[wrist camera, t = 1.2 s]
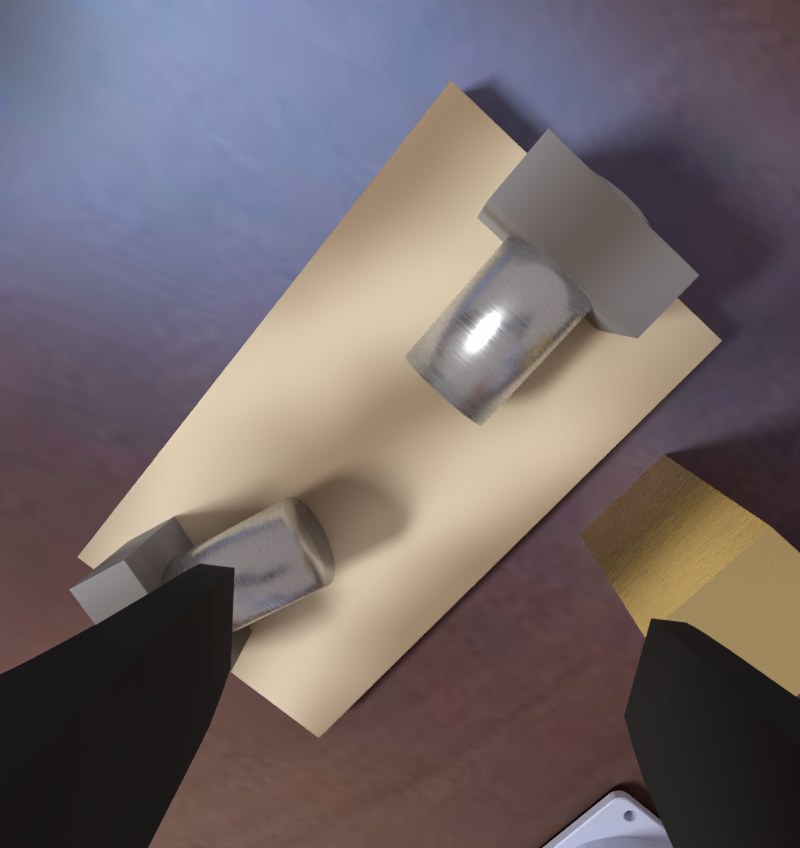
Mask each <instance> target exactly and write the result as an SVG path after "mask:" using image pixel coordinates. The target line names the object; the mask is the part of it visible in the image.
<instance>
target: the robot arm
mask: <svg viewBox="0 0 800 848" xmlns="http://www.w3.org/2000/svg"><path fill="white" fill-rule="evenodd" d="M234 575H235V568H233V567H225V566H216V565H208V564H198V565H196V566H194V567H192V568H190V569H189V570H187V571H185V572H183V573H182V574H180V575H178V576H177V577H175V578H173V579H172V580H170V581H168V582H167V583H165V584H163V585H162V586H160V587H158V588H157V589H155V590H154V591H152V592H150V593H149V594H147V595H145V596H144V597H142V598H140V599H139V600H137V601H135V602H133V603H132V604H130V605H128V606H127V607H125V608H123V609H122V610H120V611H118V612H117V613H115V614H113V615H112V616H110V617H108V618H106V619H105V620H103V621H101V622H100V623H98V624H96V625H94V626H92V627H90V628H89V629H87V630H85V631H83V632H81V633H79V634H77V635H76V636H74V637H72V638H70V639H68V640H66V641H64V642H63V643H61V644H59V645H57V646H55V647H53V648H51V649H50V650H48V651H46V652H44V653H42V654H40V655H38V656H37V657H35V658H33V659H31V660H29V661H27V662H25V663H23V664H21V665H19V666H17V667H15V668H13V669H11V670H9V671H7V672H4V673H2V674H0V848H148V847H149V845H150V843H151V841H152V839H153V837H154V835H155V833H156V831H157V829H158V827H159V825H160V823H161V821H162V819H163V817H164V815H165V813H166V811H167V809H168V807H169V805H170V803H171V801H172V800H173V798H174V796H175V794H176V792H177V790H178V788H179V786H180V784H181V782H182V780H183V778H184V776H185V774H186V772H187V770H188V768H189V766H190V764H191V762H192V760H193V758H194V756H195V754H196V752H197V750H198V748H199V746H200V744H201V742H202V740H203V738H204V736H205V734H206V732H207V730H208V728H209V726H210V723H211V721H212V718H213V715H214V713H215V710H216V708H217V705H218V702H219V700H220V697H221V694H222V691H223V689H224V686H225V683H226V680H227V677H228V675H229V672H230V669H231V650H232V625H233V600H234ZM624 717H625V720H626V724H627V727H628V731H629V734H630V738H631V741H632V745H633V748H634V752H635V755H636V758H637V761H638V764H639V767H640V770H641V774H642V777H643V779H644V782H645V784H646V787H647V789H648V791H649V794H650V796H651V798H652V801H653V803H654V805H655V808H656V810H657V812H658V815H659V817H660V819H661V820H660V819H659V818H657V817H656V816H655V815H654V814H653V813H651V812H650V811H649V810H648V809H646V808H645V807H644V806H643V805H641V804H640V803H639V802H638V801H636V800H635V799H634V798H633V797H631V796H630V795H629V794H628V793H626V792H624V791H613V792H611V793H609V794H608V795H607V796H606V797H605V798H603V799H602V800H601V801H600V802H598V803H597V804H596V805H595V806H593V807H592V808H591V809H590V810H588V811H587V812H586V813H585V814H584V815H582V816H581V817H580V818H579V819H577V820H576V821H575V822H574V823H572V824H571V825H570V826H569V827H567V828H566V829H565V830H564V831H563V832H561V833H560V834H559V835H558V836H556V837H555V838H554V839H553V840H551V841H550V842H549V843H548V844H547V845H545V846H544V847H543V848H800V699H799V698H797V697H796V696H795V695H793V694H792V693H790V692H789V691H787V690H786V689H785V688H783V687H782V686H780V685H779V684H777V683H776V682H775V681H773V680H772V679H770V678H769V677H768V676H766V675H765V674H763V673H762V672H760V671H759V670H758V669H756V668H755V667H753V666H752V665H751V664H749V663H748V662H746V661H745V660H743V659H742V658H741V657H739V656H738V655H736V654H735V653H733V652H732V651H731V650H729V649H728V648H726V647H725V646H723V645H722V644H720V643H719V642H717V641H716V640H714V639H713V638H711V637H710V636H708V635H707V634H705V633H704V632H702V631H700V630H699V629H697V628H695V627H694V626H692V625H690V624H688V623H687V622H679V621H670V620H662V619H654V618H651V620H650V624H649V628H648V631H647V635H646V639H645V642H644V646H643V650H642V653H641V657H640V660H639V664H638V668H637V671H636V675H635V679H634V682H633V686H632V689H631V693H630V697H629V700H628V704H627V708H626V711H625V715H624ZM627 811H630V812H627Z"/></svg>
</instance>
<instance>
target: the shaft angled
mask: <svg viewBox="0 0 800 848" xmlns="http://www.w3.org/2000/svg"><path fill="white" fill-rule="evenodd" d="M198 564H208V565H216V566H225V567H233V568H235V575H234V600H233V625H232V633H233V632H235V631H237V630H239V629H241V628H243V627H245V626H247V625H249V624H251V623H253V622H255V621H257V620H259V619H261V618H263V617H265V616H267V615H269V614H272V613H274V612H276V611H278V610H280V609H282V608H284V607H286V606H288V605H290V604H292V603H294V602H296V601H298V600H300V599H302V598H304V597H306V596H308V595H310V594H312V593H314V592H316V591H318V590H320V589H322V588H324V587H326V586H328V585H330V584H331V583H332V582H333V579H334V576H335V563H334V557H333V553H332V549H331V546H330V543H329V541H328V538H327V536H326V534H325V532H324V530H323V528H322V526H321V524H320V522H319V521H318V519H317V518H316V516H315V515H314V514H313V512H312V511H311V510H310V509H309V507H308V506H307V505H306V504H304V503H303V502H302V501H301V500H299V499H297V498H295V497H287V498H285V499H283V500H282V501H280V502H278V503H276V504H274V505H272V506H270V507H268V508H266V509H265V510H263V511H261V512H259V513H257V514H255V515H253V516H251V517H249V518H248V519H246V520H244V521H242V522H240V523H238V524H236V525H234V526H232V527H231V528H229V529H227V530H225V531H223V532H221V533H219V534H217V535H215V536H214V537H212V538H210V539H208V540H206V541H204V542H202V543H200V544H198V545H197V546H195V547H193V548H191V549H189V550H187V551H185V552H183V553H181V554H180V555H178V556H176V557H174V558H173V559H171V560H170V561H169V563H168V564H167V566H166V568H165V571H164V575H163V582H162V584H165V583H167V582H168V581H170V580H172V579H173V578H175V577H177V576H178V575H180V574H182V573H183V572H185V571H187V570H189V569H190V568H192V567H194V566H196V565H198Z"/></svg>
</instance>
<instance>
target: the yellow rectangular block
mask: <svg viewBox="0 0 800 848" xmlns="http://www.w3.org/2000/svg"><path fill="white" fill-rule="evenodd" d="M580 536H581V537H582V539H583V540H584V542H585V544H586V545H587V547H588V548H589V550H590V551H591V553H592V555H593V556H594V558H595V559H596V561H597V562H598V564H599V566H600V567H601V569H602V570H603V572H604V574H605V575H606V577H607V578H608V580H609V581H610V583H611V585H612V586H613V588H614V589H615V591H616V592H617V594H618V596H619V597H620V599H621V600H622V602H623V603H624V605H625V607H626V608H627V610H628V611H629V613H630V615H631V616H632V618H633V619H634V621H635V622H636V624H637V626H638V627H639V629H640V630H641V632H642V633H643V635H644V637H645V638H646V635H647V631H648V628H649V624H650V620H651V618H654V619H662V620H670V621H679V622H687V623H688V624H690V625H692V626H694V627H695V628H697V629H699V630H700V631H702V632H704V633H705V634H707V635H708V636H710V637H711V638H713V639H714V640H716V641H717V642H719V643H720V644H722V645H723V646H725V647H726V648H728V649H729V650H731V651H732V652H733V653H735V654H736V655H738V656H739V657H741V658H742V659H743V660H745V661H746V662H748V663H749V664H751V665H752V666H753V667H755V668H756V669H758V670H759V671H760V672H762V673H763V674H765V675H766V676H768V677H769V678H770V679H772V680H773V681H775V682H776V683H777V684H779V685H780V686H782V687H783V688H785V689H786V690H787V691H789V692H790V693H792V694H793V695H795V696H797V695H798V694H800V553H799V552H798V551H797V550H796V549H795V548H794V547H793V546H792V545H791V544H789V543H788V542H787V541H786V540H785V539H784V538H783V537H782V536H781V535H780V534H779V533H777V532H776V531H775V530H774V529H773V528H772V527H771V526H769V525H768V524H766V523H765V522H763V521H762V520H760V519H759V518H758V517H756V516H755V515H753V514H752V513H750V512H749V511H747V510H746V509H744V508H743V507H741V506H740V505H738V504H737V503H735V502H734V501H732V500H731V499H729V498H728V497H726V496H725V495H724V494H722V493H721V492H719V491H718V490H716V489H715V488H713V487H712V486H710V485H709V484H707V483H706V482H704V481H703V480H701V479H700V478H698V477H697V476H695V475H694V474H693V473H691V472H690V471H688V470H687V469H685V468H684V467H682V466H681V465H679V464H678V463H676V462H675V461H673V460H672V459H670V458H669V457H667V456H666V455H663V456H662V457H661V458H660V459H659V460H658V461H657V462H656V463H655V464H654V465H653V466H652V467H651V468H649V469H648V470H647V471H646V472H645V473H644V474H643V475H642V476H641V477H640V478H639V479H638V480H637V481H636V482H635V483H634V484H633V485H632V486H631V487H630V488H629V489H628V490H626V491H625V492H624V493H623V494H622V495H621V496H620V497H619V498H618V499H617V500H616V501H615V502H614V503H613V504H612V505H611V506H610V507H609V508H608V509H607V510H606V511H604V512H603V513H602V514H601V515H600V516H599V517H598V518H597V519H596V520H595V521H594V522H593V523H592V524H591V525H590V526H589V527H588V528H587V529H586V530H585V531H584V532H582V533H581V534H580Z"/></svg>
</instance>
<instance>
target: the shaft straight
mask: <svg viewBox="0 0 800 848" xmlns="http://www.w3.org/2000/svg"><path fill="white" fill-rule="evenodd" d="M594 173H595V172H594ZM595 174H596V175H597V176H598V177H599V178H600V179H601V180H602V181H603V182H604V183H605V184H606V185H607V186H608V187H609V188H610V189H611V190H612V191H613V192H614V193H615V194H617V195H618V196H619V197H620V198H621V199H622V200H623V201H624V202H625V203H626V204H627V205H628V206H629V207H630V208H631V209H632V210H633V211H634V212H635V213H636V214H637V215H638V216H639V217H640V218H641V219H642V220H643V221H644V222H645V223H646V224H647V225H648V226H649V227H650V228H651V225H650V224H649V222H648V220H647V219H646V217H645V216H644V215H643V213H642V212H641V211H640V209H639V208H638V207H637V206H636V205H635V204H634V203H633V202H632V201H631V200H630V199H629V198H628V197H627V196H626V195H625V194H624V193H623V192H622V191H621V190H620V189H618V188H617V187H616V186H615V185H613V184H612V183H611V182H609V181H608V180H606V179H605V178H603V177H602V176H600V175H598V174H597V173H595ZM651 229H652V228H651ZM591 309H592V305H591V303H590V301H589V299H588V298H587V296H586V295H585V294H584V293H583V291H582V290H581V289H580V288H579V287H578V286H577V284H576V283H575V282H574V281H573V280H572V279H571V278H570V277H569V276H568V275H567V274H566V273H565V272H564V271H563V270H562V269H560V268H559V267H558V266H557V265H556V264H555V263H554V262H553V261H551V260H550V259H549V258H548V257H547V256H545V255H544V254H543V253H542V252H540V251H539V250H538V249H536V248H535V247H533V246H532V245H531V244H529V243H528V242H526V241H524V240H523V239H521V238H519V237H517V236H514V235H509V236H508V237H507V239H506V240H505V241H504V242H503V243H502V244H501V245H500V247H499V248H498V249H497V250H496V251H495V252H494V254H493V255H492V256H491V257H490V258H489V259H488V260H487V262H486V263H485V264H484V265H483V266H482V267H481V269H480V270H479V271H478V272H477V273H476V274H475V275H474V277H473V278H472V279H471V280H470V281H469V282H468V284H467V285H466V286H465V287H464V288H463V289H462V290H461V292H460V293H459V294H458V295H457V296H456V297H455V299H454V300H453V301H452V302H451V303H450V304H449V305H448V307H447V308H446V309H445V310H444V311H443V312H442V314H441V315H440V316H439V317H438V318H437V319H436V320H435V322H434V323H433V324H432V325H431V326H430V327H429V329H428V330H427V331H426V332H425V333H424V334H423V335H422V337H421V338H420V339H419V340H418V341H417V342H416V344H415V345H414V346H413V347H412V348H411V349H410V350H409V352H408V353H407V354H406V355H405V358H406V360H407V361H408V363H409V364H410V365H411V366H412V368H413V369H414V370H415V371H416V372H417V373H418V374H419V375H420V376H421V377H422V378H423V379H424V380H425V381H426V382H427V383H428V384H429V385H430V386H431V387H432V388H433V389H434V390H435V391H436V392H438V393H439V394H440V395H441V396H442V397H443V398H444V399H445V400H447V401H448V402H449V403H450V404H451V405H452V406H454V407H455V408H456V409H457V410H459V411H460V412H461V413H462V414H464V415H465V416H466V417H468V418H469V419H470V420H472V421H473V422H475V423H477V424H478V425H481V426H483V424H484V423H485V422H486V421H487V420H488V419H489V418H490V417H491V416H492V415H493V414H494V413H495V412H496V411H497V410H498V408H499V407H500V406H501V405H502V404H503V403H504V402H505V401H506V400H507V399H508V398H509V397H510V396H511V395H512V394H513V392H514V391H515V390H516V389H517V388H518V387H519V386H520V385H521V384H522V383H523V382H524V381H525V380H526V379H527V378H528V376H529V375H530V374H531V373H532V372H533V371H534V370H535V369H536V368H537V367H538V366H539V365H540V364H541V363H542V362H543V360H544V359H545V358H546V357H547V356H548V355H549V354H550V353H551V352H552V351H553V350H554V349H555V348H556V347H557V346H558V344H559V343H560V342H561V341H562V340H563V339H564V338H565V337H566V336H567V335H568V334H569V333H570V332H571V331H572V330H573V328H574V327H575V326H576V325H577V324H578V323H579V322H580V321H581V320H582V319H583V318H584V317H585V316H586V315H587V313H588V312H589V311H590V310H591Z"/></svg>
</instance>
